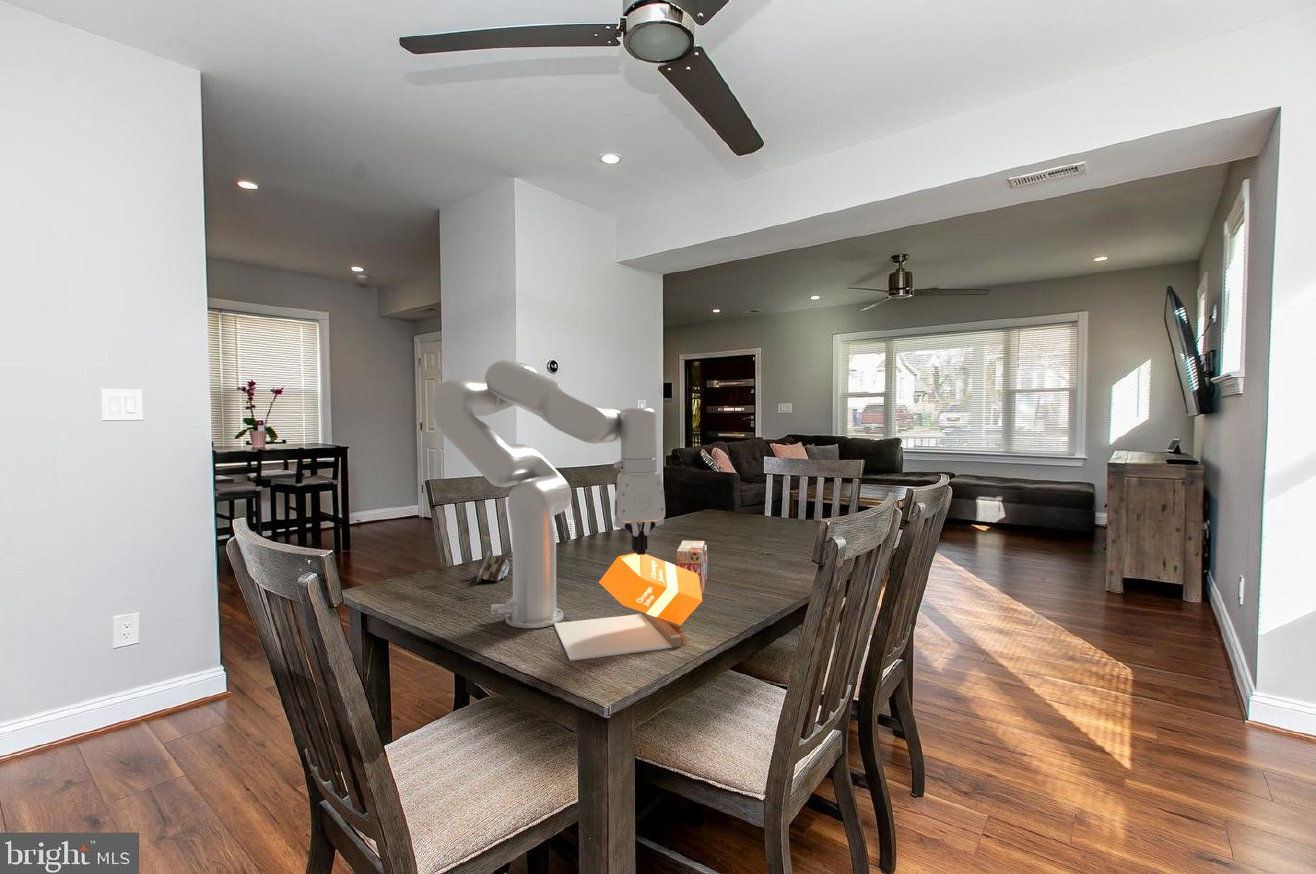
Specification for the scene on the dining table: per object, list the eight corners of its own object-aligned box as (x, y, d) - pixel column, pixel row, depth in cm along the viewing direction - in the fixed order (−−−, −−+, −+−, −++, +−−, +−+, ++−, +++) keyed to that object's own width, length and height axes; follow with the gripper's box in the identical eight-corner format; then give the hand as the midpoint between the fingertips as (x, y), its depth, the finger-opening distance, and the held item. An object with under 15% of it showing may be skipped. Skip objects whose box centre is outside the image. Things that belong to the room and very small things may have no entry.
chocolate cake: (502, 584, 159) (515, 548, 168) (476, 578, 158) (490, 542, 167) (499, 602, 165) (511, 566, 174) (473, 596, 165) (487, 560, 173)
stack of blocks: (685, 576, 170) (685, 533, 170) (707, 577, 169) (707, 534, 169) (676, 598, 149) (676, 550, 149) (701, 600, 148) (701, 550, 148)
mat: (570, 660, 111) (570, 650, 111) (553, 625, 130) (553, 616, 130) (681, 646, 118) (681, 636, 118) (650, 614, 137) (650, 606, 137)
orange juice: (702, 601, 125) (618, 570, 118) (680, 626, 129) (597, 597, 122) (698, 573, 131) (618, 542, 125) (677, 597, 135) (598, 569, 129)
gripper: (608, 469, 119) (609, 560, 120) (678, 467, 124) (679, 554, 125) (600, 466, 126) (601, 552, 127) (666, 464, 131) (667, 547, 132)
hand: (639, 553), depth 126 cm, fingers closed
